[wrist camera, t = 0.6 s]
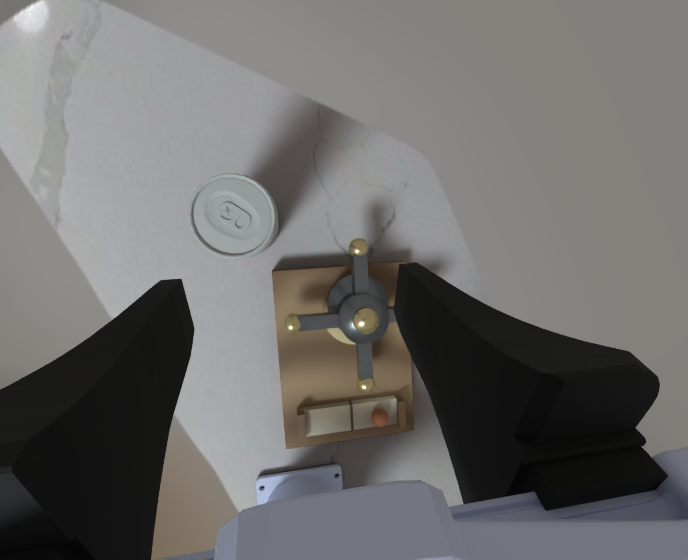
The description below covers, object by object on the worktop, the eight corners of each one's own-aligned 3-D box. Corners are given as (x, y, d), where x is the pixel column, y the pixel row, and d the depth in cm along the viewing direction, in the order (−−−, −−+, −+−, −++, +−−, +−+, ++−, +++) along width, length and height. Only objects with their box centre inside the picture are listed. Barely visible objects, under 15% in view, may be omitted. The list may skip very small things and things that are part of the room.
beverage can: (242, 185, 31) (217, 152, 19) (290, 218, 32) (294, 204, 20) (211, 233, 31) (167, 228, 19) (259, 263, 32) (247, 277, 20)
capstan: (428, 373, 33) (446, 390, 30) (288, 390, 31) (289, 411, 28) (423, 234, 32) (442, 233, 28) (276, 242, 30) (276, 242, 26)
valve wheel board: (408, 422, 36) (422, 442, 32) (285, 440, 34) (286, 463, 30) (402, 261, 34) (416, 263, 30) (272, 270, 32) (271, 273, 28)
